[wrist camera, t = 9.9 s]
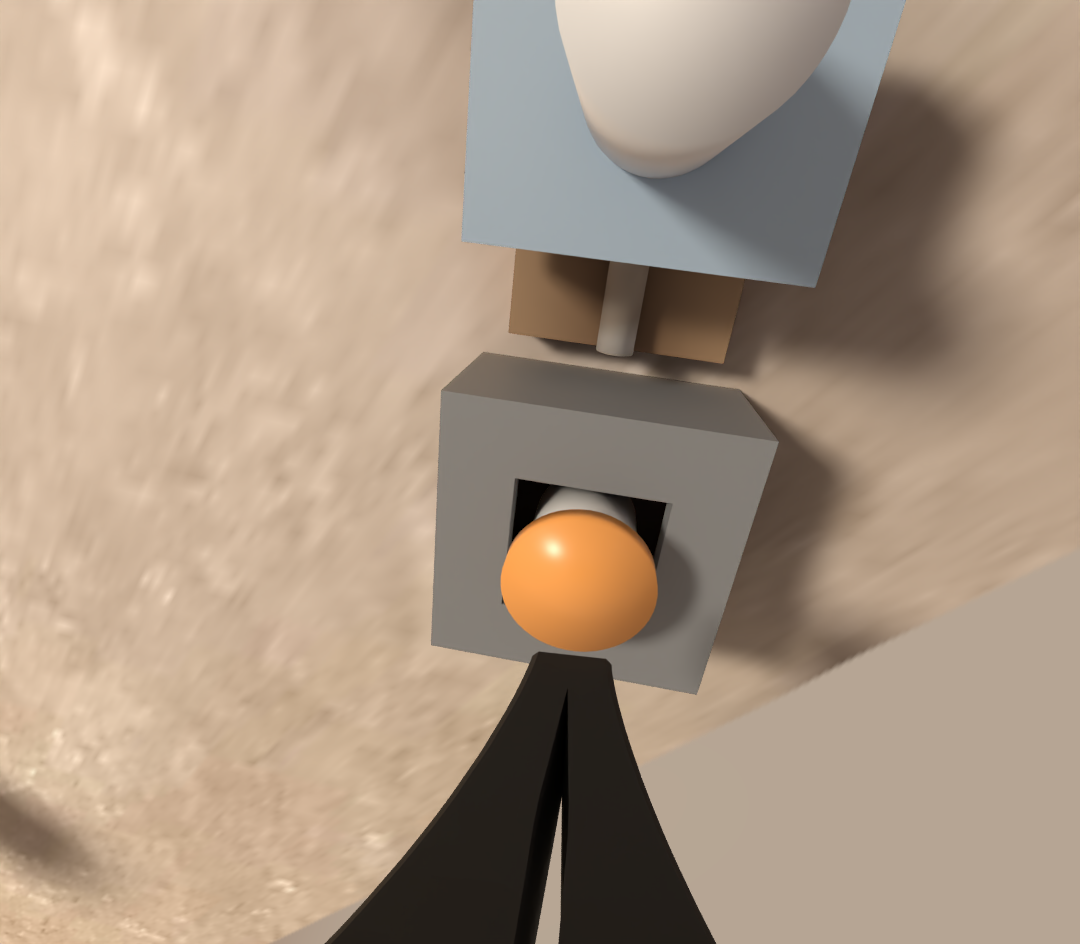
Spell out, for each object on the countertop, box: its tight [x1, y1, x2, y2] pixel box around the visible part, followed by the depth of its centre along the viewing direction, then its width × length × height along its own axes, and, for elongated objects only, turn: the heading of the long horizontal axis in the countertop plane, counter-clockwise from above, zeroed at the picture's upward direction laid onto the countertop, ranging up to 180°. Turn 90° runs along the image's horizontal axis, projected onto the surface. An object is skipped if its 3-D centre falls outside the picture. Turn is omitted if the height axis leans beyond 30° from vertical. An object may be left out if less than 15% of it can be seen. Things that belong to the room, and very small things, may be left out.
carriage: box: [462, 0, 906, 288], centre depth 8 cm, size 7×6×7 cm
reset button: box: [501, 484, 658, 652], centre depth 15 cm, size 4×4×4 cm
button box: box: [431, 352, 779, 695], centre depth 17 cm, size 8×8×4 cm
